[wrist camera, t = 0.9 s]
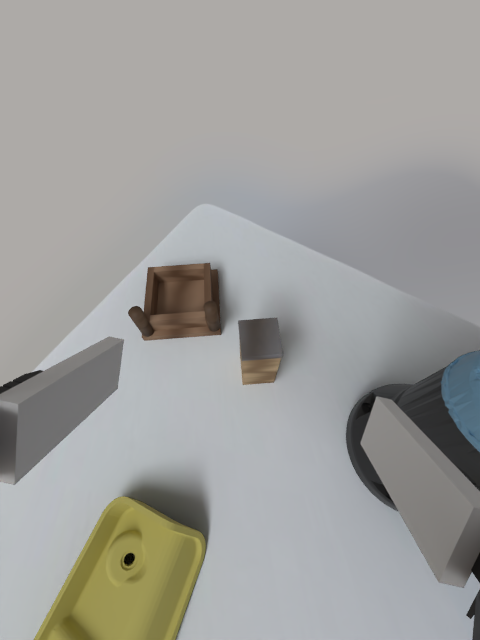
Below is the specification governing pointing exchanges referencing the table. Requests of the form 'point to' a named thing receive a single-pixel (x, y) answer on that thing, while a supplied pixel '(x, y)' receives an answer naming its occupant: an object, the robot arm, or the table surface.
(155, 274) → the brown square open box
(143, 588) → the plastic component
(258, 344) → the block
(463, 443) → the robot arm
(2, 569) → the table surface
